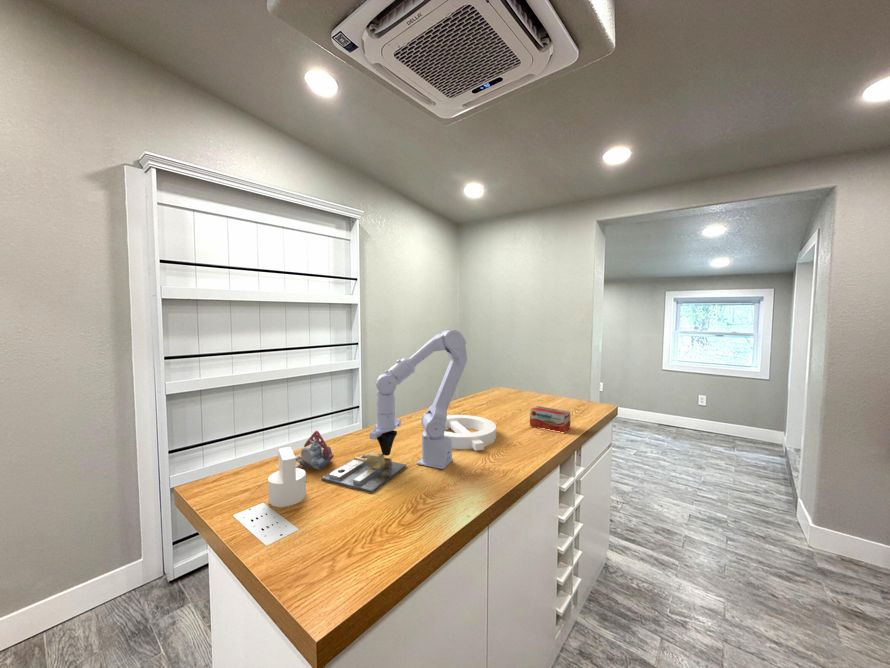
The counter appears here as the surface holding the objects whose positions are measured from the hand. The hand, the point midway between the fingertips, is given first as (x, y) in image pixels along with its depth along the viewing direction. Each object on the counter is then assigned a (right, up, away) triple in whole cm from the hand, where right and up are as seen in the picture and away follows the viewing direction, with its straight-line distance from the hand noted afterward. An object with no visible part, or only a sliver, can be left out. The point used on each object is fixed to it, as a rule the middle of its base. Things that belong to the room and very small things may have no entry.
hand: (386, 454), depth 110 cm
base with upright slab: (-23, -5, -19) cm, 30 cm away
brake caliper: (-23, -4, +1) cm, 23 cm away
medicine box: (+64, -2, +39) cm, 75 cm away
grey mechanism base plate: (-5, -4, -5) cm, 8 cm away
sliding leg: (-5, -2, -4) cm, 7 cm away
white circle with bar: (+25, -3, +29) cm, 38 cm away
